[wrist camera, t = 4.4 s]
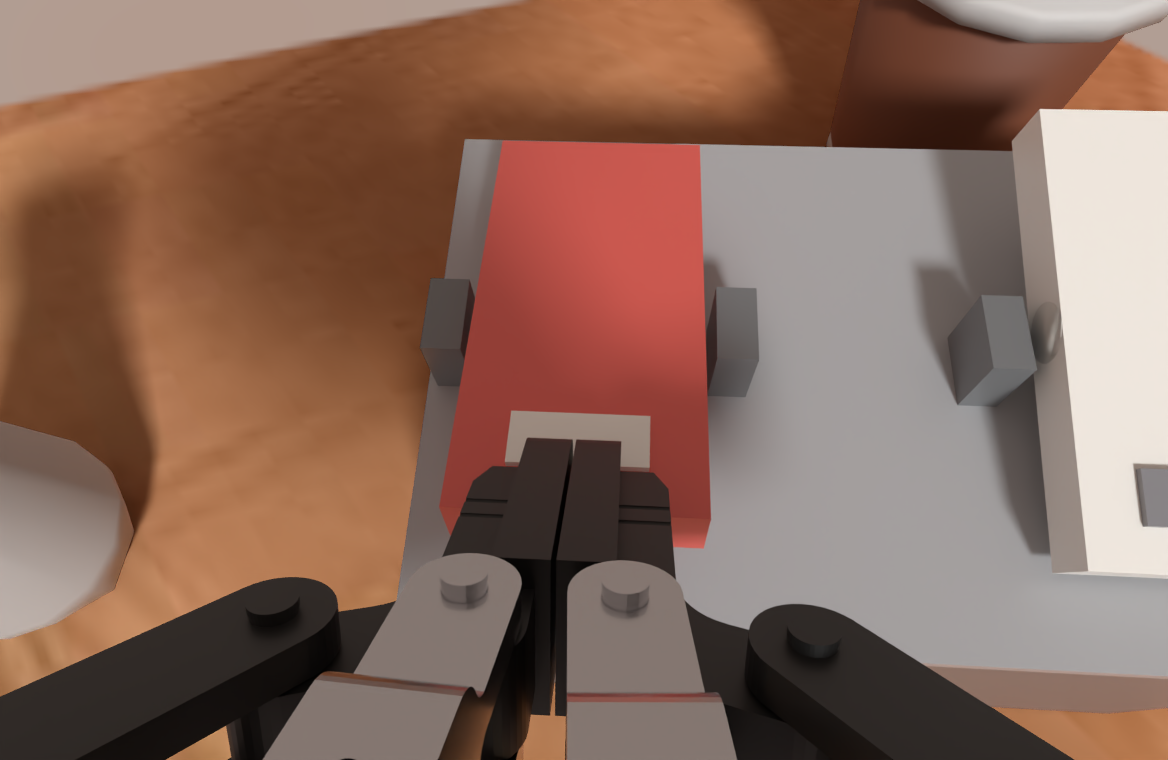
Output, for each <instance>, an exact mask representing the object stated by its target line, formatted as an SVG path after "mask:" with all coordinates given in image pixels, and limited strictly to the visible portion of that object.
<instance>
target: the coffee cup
mask: <svg viewBox="0 0 1168 760" xmlns="http://www.w3.org/2000/svg"><path fill="white" fill-rule="evenodd" d="M1167 15H1168V0H860V3H859V8H858V12H857V17H856V21H855V25H854V30H853V34H852V39H851V43H850V47H849V52H848V56H847V61H846V65H845V69H844V74H843V78H842V83H841V87H840V91H839V96H838V100H837V105H836V109H835V114H834V118H833V122H832V127H831V131H830V134H829V137H828V140H827V143H826V144H827V147H845V148H890V149H935V150H980V151H1013V150H1012V140H1013V139H1014V138H1015V137H1016V136H1017V135H1018V133H1019V132H1020V131H1021V130H1022V129H1023V128H1024V127H1025V125H1026V124H1027V123H1028V122H1029V121H1030V120H1031V118H1032V117H1033V116H1034V115H1035V114H1036V113H1037V111H1038V110H1039V109H1063V107H1064V106H1065V105H1066V104H1067V103H1068V101H1069V100H1070V99H1071V98H1072V97H1073V95H1074V94H1075V93H1076V92H1077V91H1078V89H1079V88H1080V87H1081V86H1082V85H1083V84H1084V82H1085V81H1086V80H1087V79H1088V78H1089V76H1090V75H1091V74H1092V73H1093V72H1094V70H1095V69H1096V68H1097V67H1098V66H1099V64H1100V63H1101V62H1102V61H1103V60H1104V59H1105V57H1106V56H1107V55H1108V54H1109V53H1110V51H1111V50H1112V49H1113V48H1114V47H1115V45H1116V44H1117V43H1118V42H1119V41H1120V39H1121V38H1122V37H1123V36H1124V35H1125V34H1126V33H1130V32H1133V31H1135V30H1138V29H1141V28H1144V27H1147V26H1150V25H1153V24H1156V23H1159V22H1161V21H1162V20H1163V19H1164V18H1165V17H1166V16H1167Z"/></svg>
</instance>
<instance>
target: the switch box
mask: <svg viewBox="0 0 1168 760" xmlns="http://www.w3.org/2000/svg"><path fill="white" fill-rule="evenodd" d="M503 141H528V140H483V139H465V142H464V149H463V156H462V162H461V169H460V176H459V183H458V189H457V196H456V203H455V210H454V216H453V223H452V230H451V237H450V243H449V250H448V257H447V264H446V271H445V277H444V278H431V280H430V286H429V293H428V299H427V305H426V312H425V318H424V325H423V331H422V337H421V344H420V349H421V351H422V353H423V356H424V358H425V360H426V362H427V364H428V366H429V368H430V370H431V372H430V379H429V385H428V392H427V399H426V406H425V412H424V419H423V426H422V433H421V439H420V446H419V453H418V460H417V466H416V473H415V480H414V487H413V493H412V500H411V507H410V514H409V520H408V527H407V534H406V541H405V547H404V554H403V561H402V568H401V574H400V581H399V588H398V595H397V599H398V597H399V595H400V593H401V592H402V590H403V588H404V587H405V585H406V583H407V582H408V580H409V578H410V577H411V576H412V574H413V573H414V572H415V571H416V570H418V569H419V568H420V567H422V566H423V565H425V564H426V563H428V562H431V561H433V560H435V559H438V558H441V557H442V556H443V553H444V551H445V549H446V546H447V544H448V541H449V539H450V534H449V531H448V529H447V526H446V524H445V521H444V518H443V516H442V513H441V511H440V508H439V504H440V498H441V493H442V487H443V481H444V475H445V470H446V464H447V458H448V452H449V447H450V441H451V435H452V429H453V424H454V418H455V412H456V406H457V401H458V395H459V389H460V383H461V378H462V372H463V366H464V360H465V355H466V349H467V343H468V337H469V332H470V326H471V320H472V314H473V309H474V303H475V297H476V291H477V286H478V280H479V274H480V268H481V263H482V257H483V251H484V245H485V240H486V234H487V228H488V222H489V217H490V211H491V205H492V199H493V194H494V188H495V182H496V176H497V171H498V165H499V159H500V153H501V148H502V142H503ZM542 142H573V141H542ZM587 143H619V142H587ZM632 144H664V143H632ZM677 145H700V167H701V200H702V233H703V267H704V300H705V333H706V366H707V399H708V433H709V466H710V499H711V522H710V526H709V529H708V533H707V537H706V541H705V545H704V549H702V548H681V547H673V550H674V562H675V574H676V581H677V582H678V583H679V585H680V586H681V589H682V591H683V595H684V600H685V601H686V602H687V603H688V604H689V605H690V606H691V607H693V608H694V609H696V610H697V611H698V612H700V613H702V614H704V615H705V616H707V617H710V618H712V619H714V620H717V621H719V622H723V623H726V624H729V625H733V626H736V627H740V628H744V629H748V630H749V628H750V624H751V622H752V621H753V619H754V618H755V617H756V616H757V615H758V614H759V613H761V612H763V611H764V610H766V609H769V608H772V607H774V606H779V605H785V604H807V605H814V606H819V607H823V608H827V609H830V610H833V611H836V612H838V613H840V614H843V615H845V616H847V617H848V618H850V619H852V620H854V621H855V622H857V623H858V624H860V625H862V626H863V627H865V628H866V629H868V630H869V631H871V632H873V633H874V634H876V635H877V636H879V637H881V638H882V639H884V640H885V641H887V642H888V643H890V644H892V645H893V646H895V647H896V648H898V649H900V650H901V651H903V652H904V653H906V654H908V655H909V656H911V657H912V658H914V659H915V660H917V661H919V662H920V663H922V664H923V665H925V666H927V667H928V668H930V669H931V670H933V671H934V672H936V673H938V674H939V675H941V676H942V677H944V678H946V679H947V680H949V681H950V682H952V683H953V684H955V685H957V686H958V687H960V688H961V689H963V690H965V691H966V692H968V693H969V694H971V695H972V696H974V697H976V698H977V699H979V700H980V701H982V702H984V703H985V704H987V705H988V706H990V707H1003V708H1021V709H1039V710H1056V711H1074V712H1092V713H1118V712H1129V711H1140V710H1151V709H1162V708H1168V579H1162V578H1142V577H1121V576H1100V575H1079V574H1058V573H1052V563H1051V553H1050V542H1049V531H1048V521H1047V510H1046V500H1045V489H1044V478H1043V468H1042V457H1041V447H1040V436H1039V426H1038V415H1037V404H1036V394H1035V383H1034V372H1035V371H1036V370H1037V366H1036V361H1035V356H1034V351H1033V346H1032V341H1031V336H1030V330H1029V320H1028V309H1027V298H1026V288H1025V277H1024V267H1023V256H1022V246H1021V235H1020V224H1019V214H1018V203H1017V193H1016V182H1015V171H1014V161H1013V151H980V150H935V149H890V148H845V147H799V146H754V145H709V144H677ZM555 681H556V674H555ZM555 681H554V682H555Z"/></svg>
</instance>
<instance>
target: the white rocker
mask: <svg viewBox="0 0 1168 760" xmlns="http://www.w3.org/2000/svg"><path fill="white" fill-rule="evenodd" d="M1012 150H1013V161H1014V171H1015V182H1016V193H1017V203H1018V214H1019V224H1020V235H1021V246H1022V256H1023V267H1024V277H1025V288H1026V298H1027V309H1028V320H1029V330H1030V336H1031V341H1032V346H1033V351H1034V356H1035V361H1036V366H1037V370H1036V371H1035V372H1034V383H1035V394H1036V404H1037V415H1038V426H1039V436H1040V447H1041V457H1042V468H1043V478H1044V489H1045V500H1046V510H1047V521H1048V531H1049V542H1050V553H1051V563H1052V573H1058V574H1079V575H1100V576H1121V577H1142V578H1162V579H1168V111H1117V110H1066V109H1039V110H1038V111H1037V113H1036V114H1035V115H1034V116H1033V117H1032V118H1031V120H1030V121H1029V122H1028V123H1027V124H1026V125H1025V127H1024V128H1023V129H1022V130H1021V131H1020V132H1019V133H1018V135H1017V136H1016V137H1015V138H1014V139H1013V140H1012Z"/></svg>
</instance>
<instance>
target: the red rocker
mask: <svg viewBox="0 0 1168 760" xmlns="http://www.w3.org/2000/svg"><path fill="white" fill-rule="evenodd" d="M527 438H552V439H573V456H574V450H575V444H576V439H580V440H605V441H621V466H620V471H626V472H650V473H655V475H656V476H657V477H658V478H659V479H660V480H661V481H662V482H663V483H664V484H665V486H666V487H667V488H668V489H669V501H670V513H671V526H672V538H673V547H681V548H702V549H704V545H705V541H706V537H707V533H708V529H709V526H710V522H711V499H710V466H709V433H708V399H707V366H706V333H705V300H704V267H703V233H702V200H701V167H700V145H677V144H632V143H587V142H542V141H503V142H502V148H501V153H500V159H499V165H498V171H497V176H496V182H495V188H494V194H493V199H492V205H491V211H490V217H489V222H488V228H487V234H486V240H485V245H484V251H483V257H482V263H481V268H480V274H479V280H478V286H477V291H476V297H475V303H474V309H473V314H472V320H471V326H470V332H469V337H468V343H467V349H466V355H465V360H464V366H463V372H462V378H461V383H460V389H459V395H458V401H457V406H456V412H455V418H454V424H453V429H452V435H451V441H450V447H449V452H448V458H447V464H446V470H445V475H444V481H443V487H442V493H441V498H440V504H439V508H440V511H441V513H442V516H443V518H444V521H445V524H446V526H447V529H448V531H449V534H450V536H451V534H452V531H453V529H454V526H455V524H456V521H457V519H458V517H459V516H460V512H461V509H462V507H463V504H464V502H466V497H467V494H468V492H469V489H470V487H471V485H472V482H473V480H475V479H476V478H477V477H479V476H480V475H481V474H482V473H484V472H485V471H486V470H488V469H489V468H490V467H492V466H505V467H518V465H519V462H520V459H521V455H522V452H523V449H524V446H525V442H526V439H527Z"/></svg>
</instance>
